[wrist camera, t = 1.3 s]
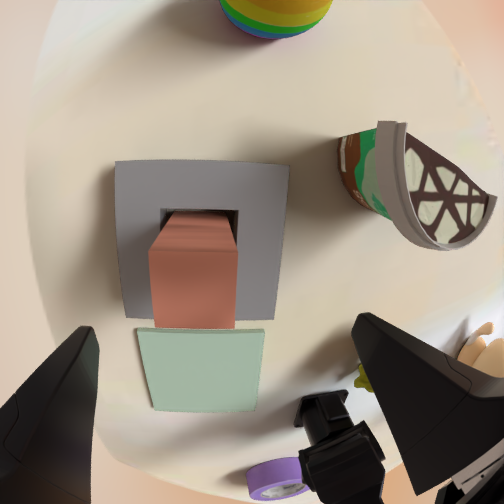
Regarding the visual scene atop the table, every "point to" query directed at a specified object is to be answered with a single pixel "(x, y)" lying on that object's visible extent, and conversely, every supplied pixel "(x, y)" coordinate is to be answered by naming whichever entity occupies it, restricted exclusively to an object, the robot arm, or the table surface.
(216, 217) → the peg
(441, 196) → the food container
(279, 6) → the decorative egg
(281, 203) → the pocket block
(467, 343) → the kitten
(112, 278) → the table surface
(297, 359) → the table surface
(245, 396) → the board
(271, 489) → the tape roll
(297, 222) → the table surface
